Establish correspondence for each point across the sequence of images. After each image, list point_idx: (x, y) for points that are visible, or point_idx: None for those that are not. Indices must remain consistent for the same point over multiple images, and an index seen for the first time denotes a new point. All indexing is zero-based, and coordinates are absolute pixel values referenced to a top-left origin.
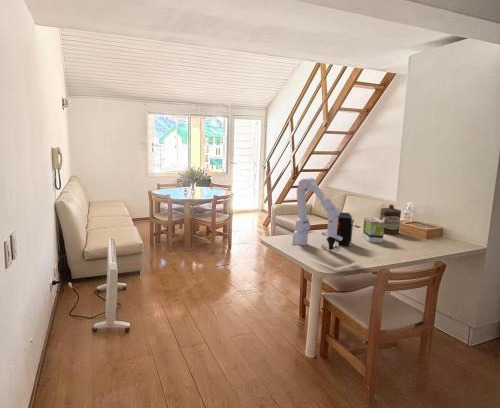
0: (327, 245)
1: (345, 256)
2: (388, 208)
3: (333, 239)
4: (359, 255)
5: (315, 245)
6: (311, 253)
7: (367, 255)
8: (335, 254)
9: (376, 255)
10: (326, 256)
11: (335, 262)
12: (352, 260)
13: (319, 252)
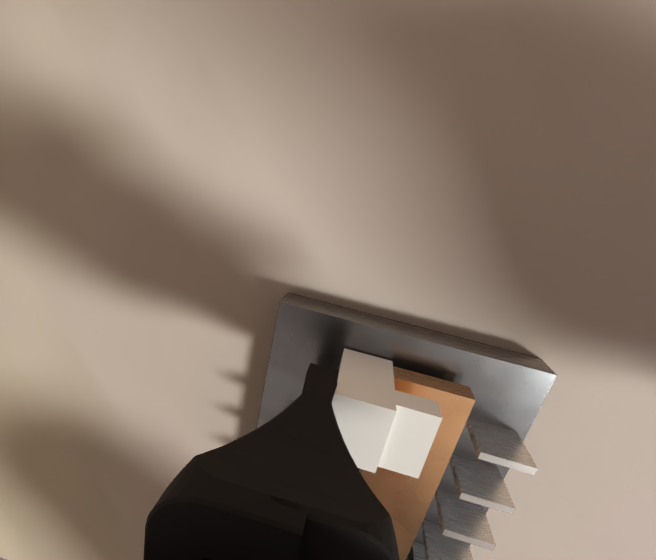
0: (383, 425)
1: (148, 358)
2: None
3: (155, 548)
4: (94, 474)
5: (648, 518)
6: (552, 121)
7: (60, 513)
8: (258, 347)
9: (27, 550)
10: (293, 179)
11: (69, 28)
12: (27, 284)
13: (460, 273)
